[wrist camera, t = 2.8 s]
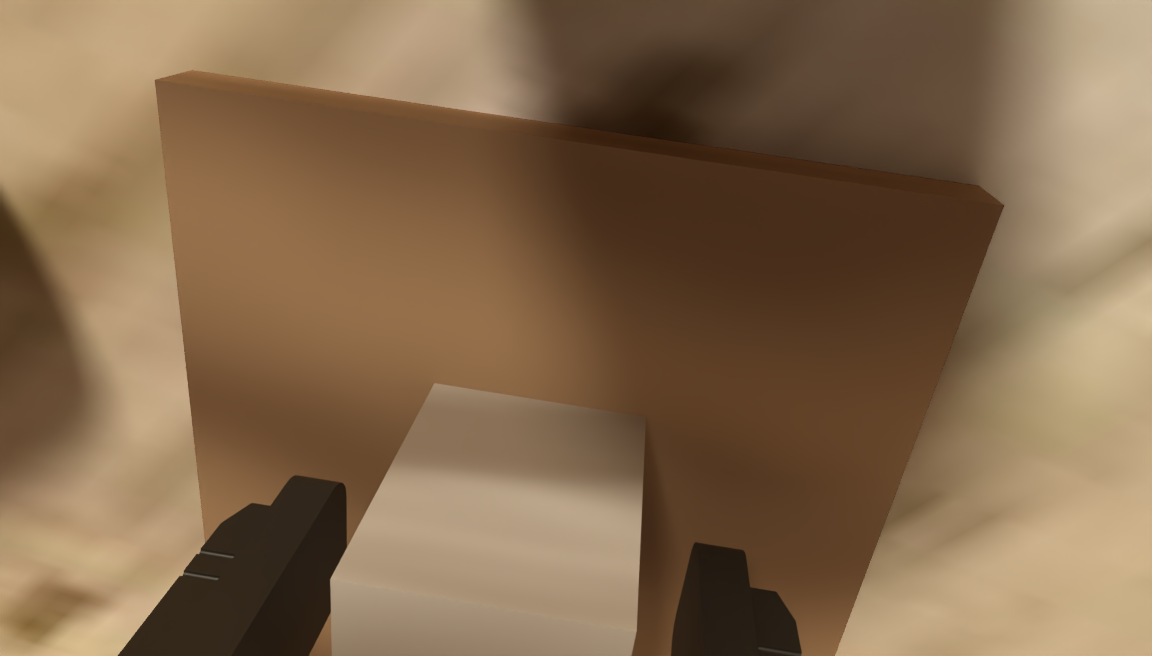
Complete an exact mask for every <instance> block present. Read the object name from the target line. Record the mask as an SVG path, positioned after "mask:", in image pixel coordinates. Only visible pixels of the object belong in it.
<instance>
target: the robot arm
mask: <svg viewBox="0 0 1152 656" xmlns="http://www.w3.org/2000/svg"><path fill="white" fill-rule="evenodd" d="M346 549H347V496H346V487H345V485H344V483H342V482H336V481H330V480H324V479H318V478H312V477H306V476H300V475H294V476H292V477H291V478H290V479H289V480H288V482H287V483H286V484H285V486H284V487H283V489H282V490H281V491H280V493H279V494H278V496H277V497H276V498H275V500H274V501H273V503H272V504H271V505H270V506H269V505H263V504H257V503H251V504H249V505H247V506H246V507H244V508H243V509H241V510H240V511H238V512H237V513H235V514H234V515H232V516H231V517H229V518H228V519H226V520H225V521H223V522H222V523H220V525H219V526H218V527H217V529H216V530H215V531H214V532H213V534H212V535H211V536H210V538H209V539H208V540H207V541H206V543H205V544H204V545H203V547H202V548H201V551H200V554H196V556H195V557H194V558H193V560H192V561H191V562H190V563H189V565H188V566H187V567H186V569H185V570H184V574H183V576H179V578H178V579H177V580H176V581H175V583H174V584H173V585H172V587H171V588H170V589H169V590H168V592H167V593H166V594H165V596H164V597H163V598H162V599H161V601H160V602H159V603H158V605H157V606H156V607H155V608H154V610H153V611H152V612H151V614H150V615H149V616H148V617H147V619H146V620H145V621H144V623H143V624H142V625H141V627H140V628H139V629H138V630H137V632H136V633H135V634H134V636H133V637H132V638H131V639H130V641H129V642H128V643H127V645H126V646H125V647H124V648H123V650H122V651H121V652H120V654H119V655H118V656H309V654H310V652H311V650H312V648H313V647H314V645H315V643H316V641H317V639H318V637H319V635H320V633H321V631H322V629H323V627H324V625H325V623H326V621H327V619H328V617H329V615H330V613H331V588H330V579H331V577H332V575H333V573H334V571H335V569H336V568H337V566H338V564H339V562H340V560H341V558H342V556H343V554H344V552H345V551H346ZM801 654H802V651H801V645H800V640H799V635H798V630H797V625H796V621H795V619H794V618H793V616H792V614H791V613H790V611H789V610H788V608H787V607H786V605H785V604H784V602H783V601H782V599H781V598H780V596H779V595H778V593H777V592H776V591H770V590H764V589H758V588H752V587H750V582H749V575H748V567H747V559H746V554H745V552H744V550H740V549H734V548H728V547H722V546H716V545H710V544H704V543H698V542H695V543H694V545H693V547H692V551H691V554H690V558H689V563H688V567H687V571H686V575H685V579H684V583H683V587H682V592H681V596H680V600H679V604H678V608H677V612H676V617H675V622H674V628H673V636H672V646H671V656H801Z"/></svg>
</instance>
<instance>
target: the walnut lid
mask: <svg viewBox="0 0 1152 656" xmlns="http://www.w3.org/2000/svg"><path fill="white" fill-rule="evenodd" d="M155 85H156V94H157V103H158V112H159V122H160V131H161V140H162V149H163V158H164V168H165V177H166V186H167V195H168V204H169V213H170V223H171V232H172V241H173V250H174V259H175V269H176V278H177V287H178V296H179V305H180V315H181V324H182V333H183V342H184V351H185V361H186V370H187V379H188V388H189V397H190V406H191V416H192V425H193V434H194V443H195V452H196V462H197V471H198V480H199V489H200V498H201V508H202V517H203V526H204V535H205V543H206V541H207V540H208V539H209V538H210V536H211V535H212V534H213V532H214V531H215V530H216V529H217V527H218V526H219V525H220V523H222V522H223V521H225V520H226V519H228V518H229V517H231V516H232V515H234V514H235V513H237V512H238V511H240V510H241V509H243V508H244V507H246V506H247V505H249V504H251V503H257V504H263V505H269V506H270V505H271V504H272V503H273V501H274V500H275V498H276V497H277V496H278V494H279V493H280V491H281V490H282V489H283V487H284V486H285V484H286V483H287V482H288V480H289V479H290V478H291V477H292V476H294V475H300V476H306V477H312V478H318V479H324V480H330V481H336V482H342V483H344V485H345V487H346V496H347V549H346V551H345V552H344V554H343V556H342V558H341V560H340V562H339V564H338V566H337V568H336V569H335V571H334V573H333V575H332V577H331V579H330V588H331V613H330V615H329V617H328V619H327V621H326V623H325V625H324V627H323V629H322V631H321V633H320V635H319V637H318V639H317V641H316V643H315V645H314V647H313V648H312V650H311V652H310V654H309V656H671V646H672V636H673V628H674V622H675V617H676V612H677V608H678V604H679V600H680V596H681V592H682V587H683V583H684V579H685V575H686V571H687V567H688V563H689V558H690V554H691V551H692V547H693V545H694V543H695V542H698V543H704V544H710V545H716V546H722V547H728V548H734V549H740V550H744V552H745V554H746V559H747V567H748V575H749V582H750V587H752V588H758V589H764V590H770V591H776V592H777V593H778V595H779V596H780V598H781V599H782V601H783V602H784V604H785V605H786V607H787V608H788V610H789V611H790V613H791V614H792V616H793V618H794V619H795V621H796V625H797V630H798V635H799V640H800V645H801V651H802V654H801V656H835V654H836V651H837V648H838V646H839V643H840V640H841V638H842V635H843V632H844V630H845V627H846V624H847V622H848V619H849V616H850V614H851V611H852V608H853V606H854V603H855V600H856V598H857V595H858V592H859V590H860V587H861V584H862V582H863V579H864V576H865V574H866V571H867V568H868V566H869V563H870V560H871V558H872V555H873V552H874V550H875V547H876V545H877V542H878V539H879V537H880V534H881V531H882V529H883V526H884V523H885V521H886V518H887V515H888V513H889V510H890V507H891V505H892V502H893V499H894V497H895V494H896V491H897V489H898V486H899V483H900V481H901V478H902V475H903V473H904V470H905V467H906V465H907V462H908V459H909V457H910V454H911V451H912V449H913V446H914V443H915V441H916V438H917V435H918V433H919V430H920V427H921V425H922V422H923V419H924V417H925V414H926V411H927V409H928V406H929V404H930V401H931V398H932V396H933V393H934V390H935V388H936V385H937V382H938V380H939V377H940V374H941V372H942V369H943V366H944V364H945V361H946V358H947V356H948V353H949V350H950V348H951V345H952V342H953V340H954V337H955V334H956V332H957V329H958V326H959V324H960V321H961V318H962V316H963V313H964V310H965V308H966V305H967V302H968V300H969V297H970V294H971V292H972V289H973V286H974V284H975V281H976V278H977V276H978V273H979V270H980V268H981V265H982V263H983V260H984V257H985V255H986V252H987V249H988V247H989V244H990V241H991V239H992V236H993V233H994V231H995V228H996V225H997V223H998V220H999V217H1000V215H1001V212H1002V209H1003V207H1004V205H1003V204H1002V203H1000V202H999V201H998V200H997V199H995V198H994V197H993V196H991V195H990V194H989V193H987V192H986V191H985V190H983V189H982V188H981V187H980V186H976V185H969V184H962V183H956V182H949V181H942V180H935V179H928V178H922V177H915V176H908V175H901V174H894V173H888V172H881V171H874V170H867V169H860V168H854V167H847V166H840V165H833V164H826V163H820V162H813V161H806V160H799V159H792V158H785V157H779V156H772V155H765V154H758V153H751V152H745V151H738V150H731V149H724V148H717V147H711V146H704V145H697V144H690V143H683V142H677V141H670V140H663V139H656V138H649V137H643V136H636V135H629V134H622V133H615V132H608V131H602V130H595V129H588V128H581V127H574V126H568V125H561V124H554V123H547V122H540V121H534V120H527V119H520V118H513V117H506V116H500V115H493V114H486V113H479V112H472V111H466V110H459V109H452V108H445V107H438V106H431V105H425V104H418V103H411V102H404V101H397V100H391V99H384V98H377V97H370V96H363V95H357V94H350V93H343V92H336V91H329V90H323V89H316V88H309V87H302V86H295V85H289V84H282V83H275V82H268V81H261V80H254V79H248V78H241V77H234V76H227V75H220V74H214V73H207V72H200V71H193V70H192V71H188V72H184V73H180V74H176V75H172V76H169V77H165V78H161V79H157V80H155Z"/></svg>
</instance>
